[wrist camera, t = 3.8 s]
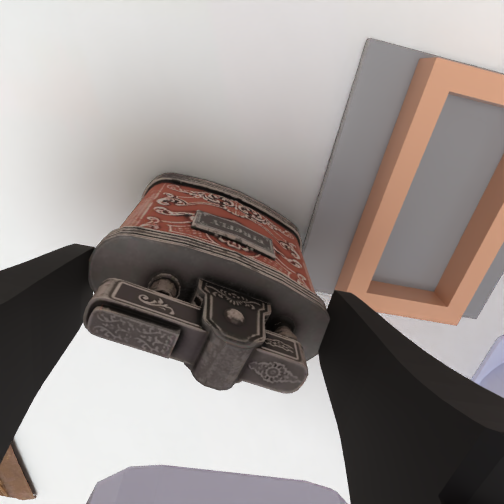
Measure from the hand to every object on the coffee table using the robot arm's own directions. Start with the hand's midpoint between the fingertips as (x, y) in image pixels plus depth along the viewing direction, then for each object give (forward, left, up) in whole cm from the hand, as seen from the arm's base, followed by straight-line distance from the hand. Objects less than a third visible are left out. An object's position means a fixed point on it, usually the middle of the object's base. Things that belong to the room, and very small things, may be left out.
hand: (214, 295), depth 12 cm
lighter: (0, 0, -7) cm, 7 cm away
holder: (-10, -3, -7) cm, 13 cm away
